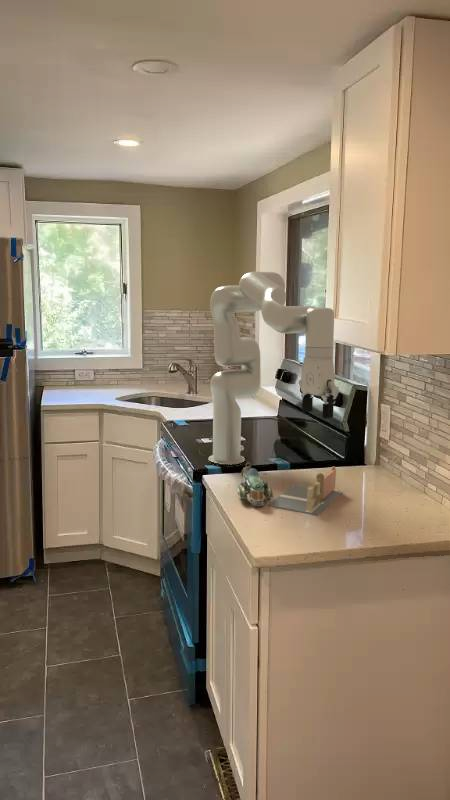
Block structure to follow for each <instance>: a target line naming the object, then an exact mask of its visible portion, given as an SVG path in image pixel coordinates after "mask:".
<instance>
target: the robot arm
mask: <svg viewBox="0 0 450 800" xmlns="http://www.w3.org/2000/svg"><path fill="white" fill-rule="evenodd" d="M286 300H287V293H286V283H285V280H284V278H283V276H282V275H280V273H278V272H275V271H274V272H273V271H250V272H247V273H245V274H244V275H242V277H240V280H239V282H238V285H223V286H219V287H217V288H216V289H215V290H213V292H212V294H211V297H210V300H209V301H210V302H209V304H210V305H209V309H210V315H211V318H212V322H213V323H212V324H213V345H214V346H213V347H214V348H213V349H214V353H213V354H214V359H215V361H214V362H216V364H217V365H218V366H220V367H239V366H241V369H228V370H226V369H225V370H221V371H219V372H218V371H217V372H216V373H214V374H213V375H212V376H211V378H210V383H209V384H210V386H209V387H210V391H211V397H212V419H213V420H212V455H210V456H209V457H208V460H209V461H211V462H214V463H219V464H228V465H229V464H230V465H232V464H239V463H242V462H244V461H246V459H245V457H244V456H243V455H241V452H242V451H244V449H245V447H244V446H243V445H241V443H242V442H241V440H242V438H241V437H242V436H241V434H242V433H241V432H242V431H241V430H242V411H241V407H240V405H239V403H238V402H237V401H236V399H240V398H249V397H254V396H256V395H257V394H258V393H259V391H260V389H261V380H262V379H261V377H262V376H261V375H262V374H261V350H260V346H259V344H258V342H257V341H256V340H255V339H254V338H252V337H248V336H247V337H246V336H244V337H243V336H241V337H240V324H239V320H238V319H237V318H236V315H234V313H249V312H259V311H261V313H260V314H261V316H262V319H263V320H264V322H265V324H266V325H268V326H269V327H270V328H271V329H273V330H274V331H276V332H277V333H280V334H288V335H290V334H305V347H304V348H305V351H304V354H305V355H304V357H303V361H302V366H301V367H302V368H301V375H300V376H301V377H300V380H298V384H299V386H298V387H299V391H300V394H301V395H300V397H301V399H302V401H301V412H302V413H309V412H313V407H314V406H313V402H314V401H313V399H314V398H313V397H312V396H316V397H322V400H323V403H322V412H321V413H322V419H324V420H326V419H332V418H333V417H334V407H335V406H334V404H335V403H336V400H337V399H338V395H339V393H340V389H339V387H337V386H336V384H335V366H334V360H333V359H334V339H335V338H334V336H335V335H334V332H335V330H334V329H335V311H334V309H333V308H330V307H316V306H314V305H313V306H312V305H291V306H290V305H289V306H288V305H285V303H286ZM209 461H208V462H209ZM244 463H245V462H244Z"/></svg>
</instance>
